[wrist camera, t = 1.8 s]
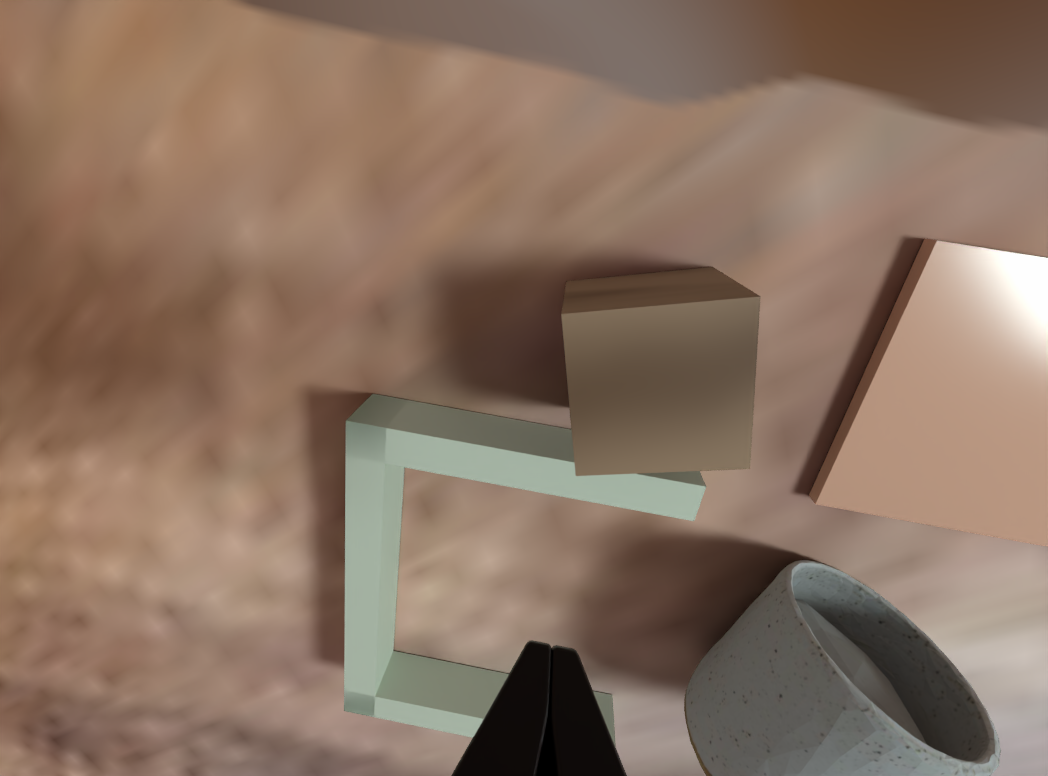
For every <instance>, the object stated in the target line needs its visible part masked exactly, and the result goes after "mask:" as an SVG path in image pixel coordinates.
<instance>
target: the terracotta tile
mask: <svg viewBox="0 0 1048 776" xmlns="http://www.w3.org/2000/svg"><path fill="white" fill-rule="evenodd" d="M809 496H810V497H811V499H812V500H813V501H814V503H815V504H817V505H823V506H828V507H834V508H839V509H845V510H850V511H855V512H861V513H866V514H872V515H877V516H883V517H888V518H894V519H899V520H905V521H910V522H915V523H921V524H926V525H932V526H937V527H943V528H948V529H954V530H959V531H965V532H970V533H976V534H981V535H986V536H992V537H997V538H1003V539H1008V540H1014V541H1019V542H1025V543H1030V544H1036V545H1041V546H1046V547H1048V258H1043V257H1037V256H1031V255H1024V254H1018V253H1012V252H1006V251H999V250H993V249H987V248H981V247H974V246H968V245H962V244H956V243H949V242H943V241H937V240H931V239H924V241H923V243H922V245H921V248H920V250H919V252H918V254H917V256H916V259H915V261H914V263H913V265H912V268H911V270H910V272H909V274H908V276H907V279H906V281H905V283H904V285H903V288H902V290H901V292H900V294H899V296H898V299H897V301H896V303H895V305H894V308H893V310H892V312H891V314H890V316H889V319H888V321H887V323H886V325H885V328H884V330H883V332H882V334H881V336H880V339H879V341H878V343H877V345H876V347H875V350H874V352H873V354H872V356H871V359H870V361H869V363H868V365H867V367H866V370H865V372H864V374H863V376H862V379H861V381H860V383H859V385H858V387H857V390H856V392H855V394H854V396H853V399H852V401H851V403H850V405H849V407H848V410H847V412H846V414H845V416H844V419H843V421H842V423H841V425H840V427H839V430H838V432H837V434H836V436H835V438H834V441H833V443H832V445H831V447H830V450H829V452H828V454H827V456H826V458H825V461H824V463H823V465H822V467H821V470H820V472H819V474H818V476H817V478H816V481H815V483H814V485H813V487H812V490H811V492H810V494H809Z"/></svg>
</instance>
